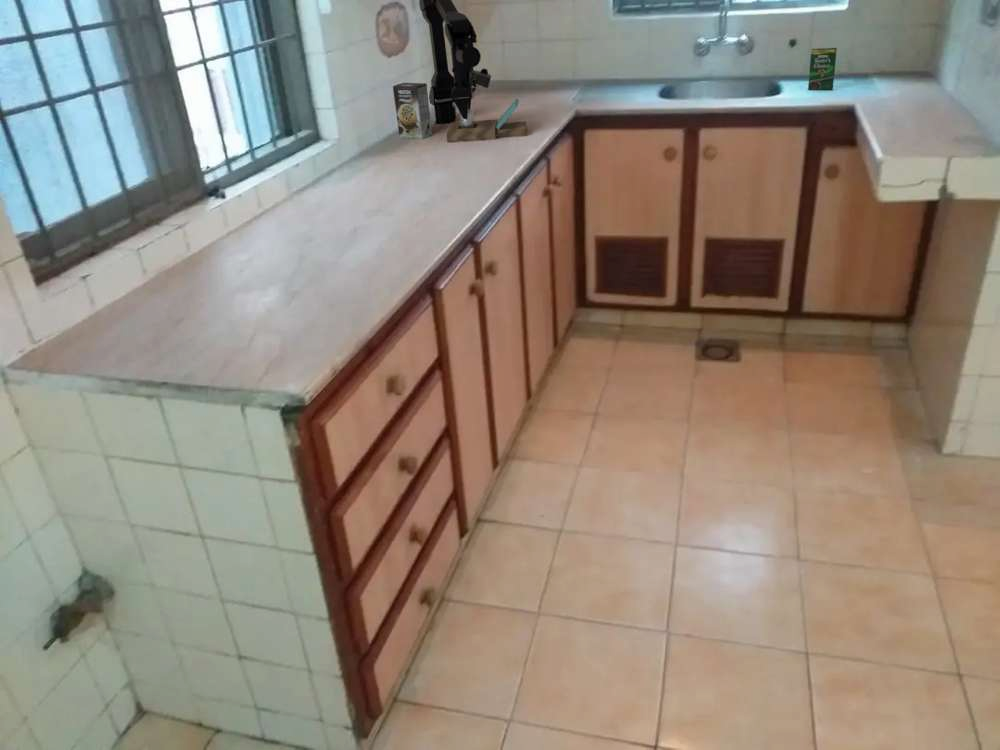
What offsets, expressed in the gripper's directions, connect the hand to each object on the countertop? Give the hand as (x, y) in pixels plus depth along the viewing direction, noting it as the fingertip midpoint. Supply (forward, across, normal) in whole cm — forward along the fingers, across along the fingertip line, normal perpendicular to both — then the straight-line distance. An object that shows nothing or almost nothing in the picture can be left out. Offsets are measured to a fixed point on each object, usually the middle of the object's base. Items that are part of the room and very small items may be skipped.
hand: (466, 116), depth 254 cm
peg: (+6, 0, 0) cm, 6 cm away
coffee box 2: (+6, +33, -117) cm, 122 cm away
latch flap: (0, 0, -13) cm, 13 cm away
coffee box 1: (+6, +4, +18) cm, 19 cm away
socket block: (+6, 0, -6) cm, 9 cm away
